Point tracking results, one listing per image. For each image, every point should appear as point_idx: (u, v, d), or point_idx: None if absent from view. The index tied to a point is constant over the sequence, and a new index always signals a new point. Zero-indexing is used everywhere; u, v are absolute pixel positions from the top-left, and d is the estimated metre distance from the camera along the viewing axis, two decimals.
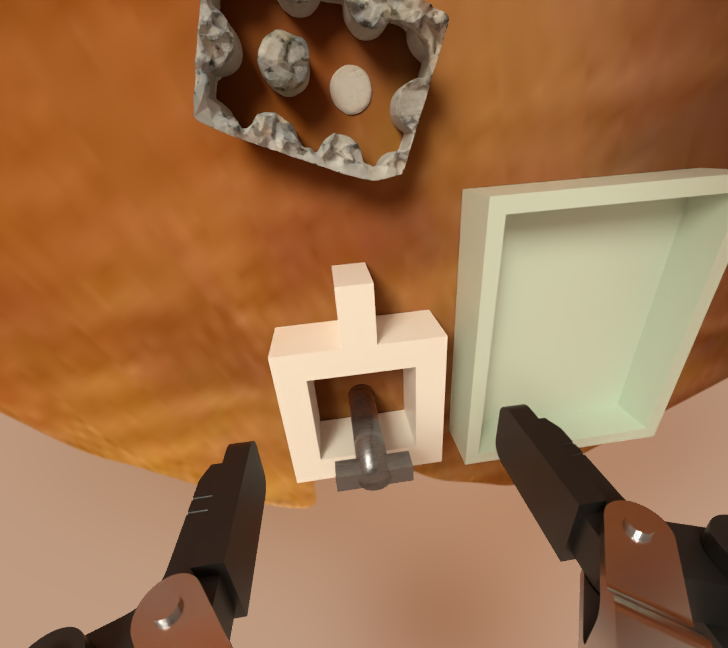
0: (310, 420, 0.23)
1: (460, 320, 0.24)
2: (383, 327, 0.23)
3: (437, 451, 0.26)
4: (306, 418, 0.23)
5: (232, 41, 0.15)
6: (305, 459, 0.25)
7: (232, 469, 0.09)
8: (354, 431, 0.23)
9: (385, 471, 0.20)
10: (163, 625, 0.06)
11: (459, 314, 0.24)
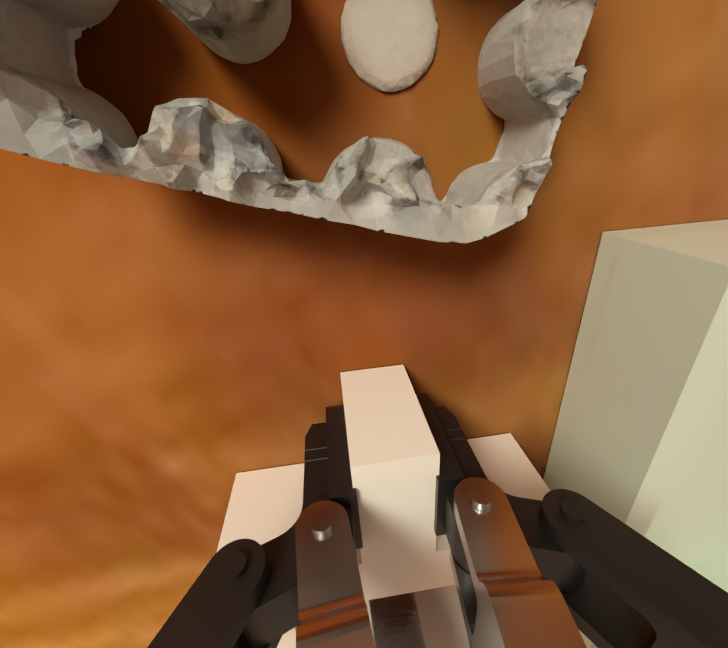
0: None
1: (568, 456, 0.14)
2: None
3: None
4: None
5: None
6: None
7: (337, 425, 0.11)
8: None
9: None
10: (324, 537, 0.07)
11: (566, 445, 0.14)
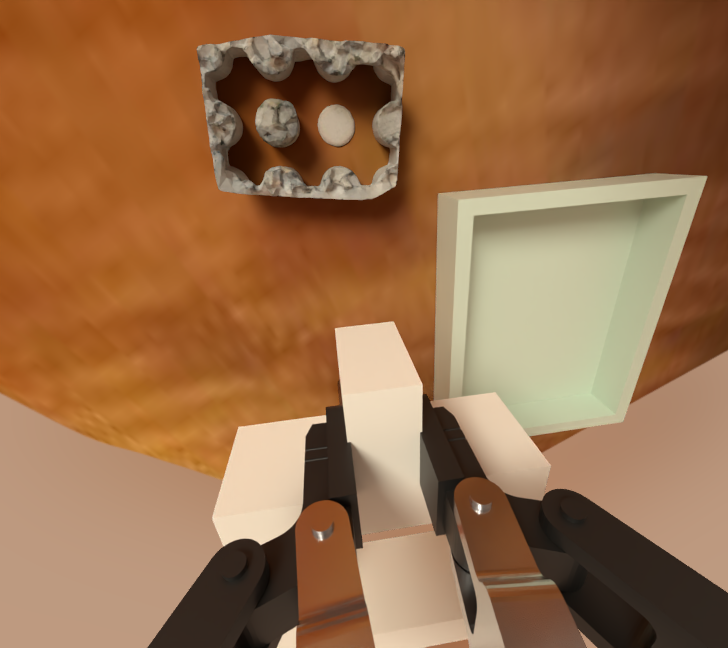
0: None
1: (439, 313, 0.27)
2: None
3: None
4: None
5: (234, 120, 0.18)
6: (289, 647, 0.15)
7: (337, 425, 0.11)
8: None
9: None
10: (324, 537, 0.07)
11: (438, 308, 0.27)
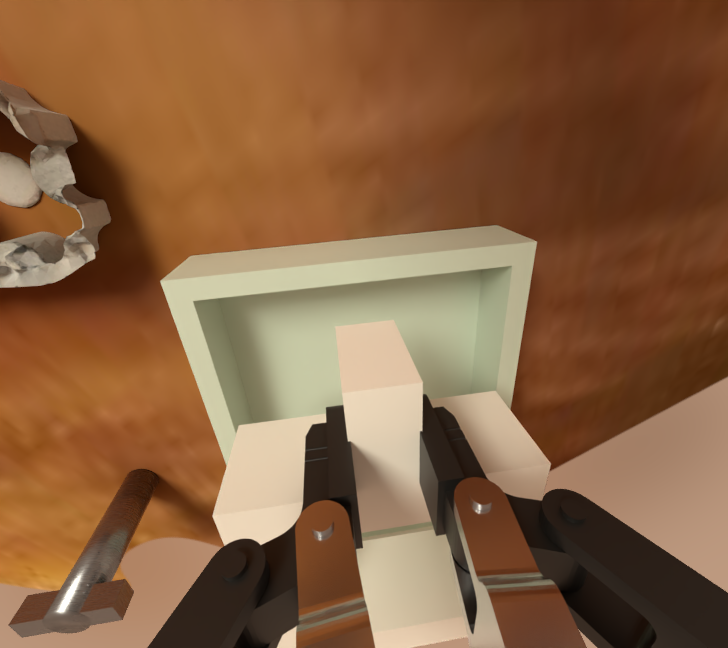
0: None
1: None
2: None
3: None
4: None
5: None
6: (289, 645, 0.15)
7: (337, 425, 0.11)
8: (88, 543, 0.19)
9: (75, 614, 0.16)
10: (324, 537, 0.07)
11: None
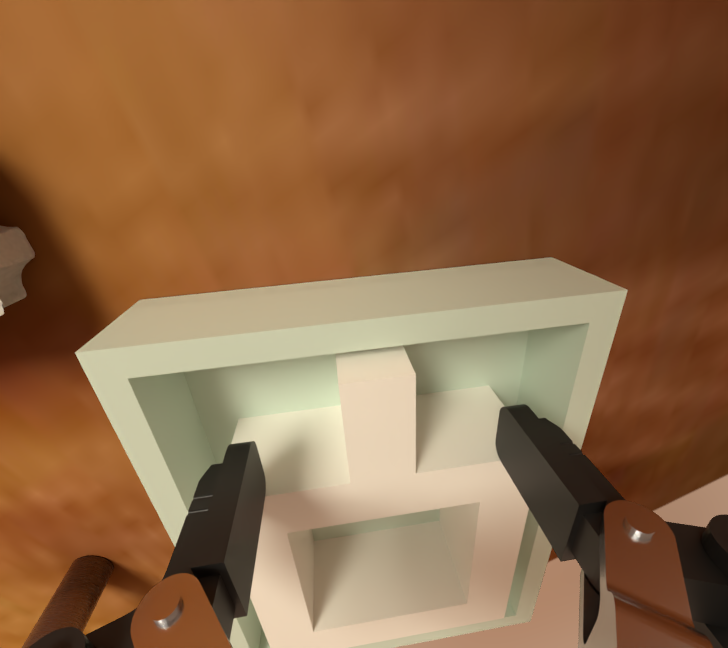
0: (295, 585, 0.13)
1: None
2: (420, 426, 0.13)
3: (500, 606, 0.16)
4: (288, 583, 0.13)
5: None
6: (288, 633, 0.15)
7: (232, 469, 0.09)
8: None
9: None
10: (163, 625, 0.06)
11: None
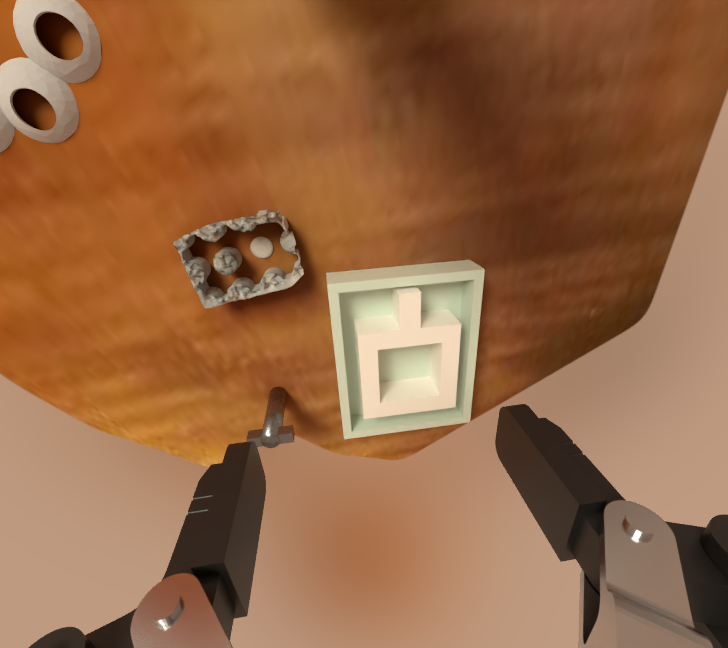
0: (377, 376, 0.38)
1: None
2: (421, 319, 0.38)
3: (453, 399, 0.40)
4: (374, 374, 0.37)
5: (202, 270, 0.33)
6: (370, 402, 0.39)
7: (232, 469, 0.09)
8: (265, 415, 0.38)
9: (275, 436, 0.35)
10: (163, 625, 0.06)
11: None
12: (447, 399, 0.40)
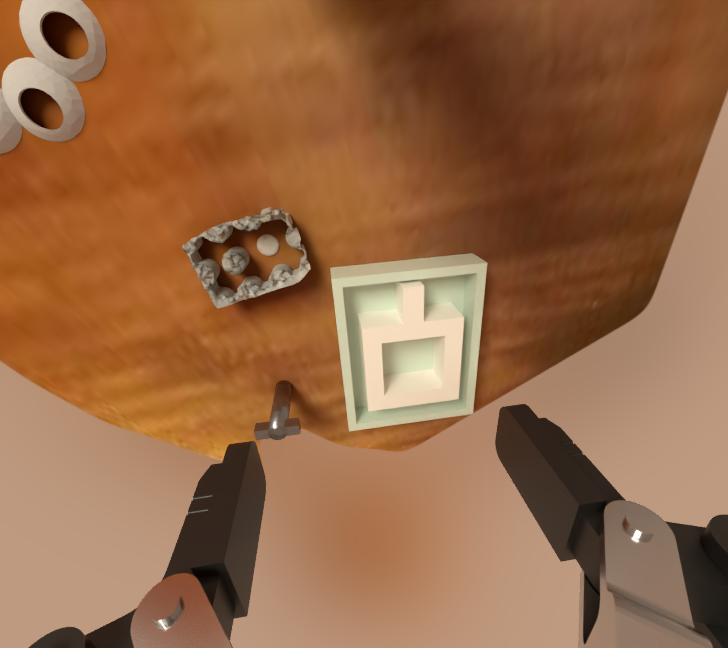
0: (381, 369, 0.38)
1: None
2: (425, 312, 0.38)
3: (456, 391, 0.41)
4: (378, 367, 0.38)
5: (212, 271, 0.34)
6: (375, 395, 0.40)
7: (232, 469, 0.09)
8: (272, 408, 0.39)
9: (282, 428, 0.36)
10: (163, 625, 0.06)
11: None
12: (450, 391, 0.41)
